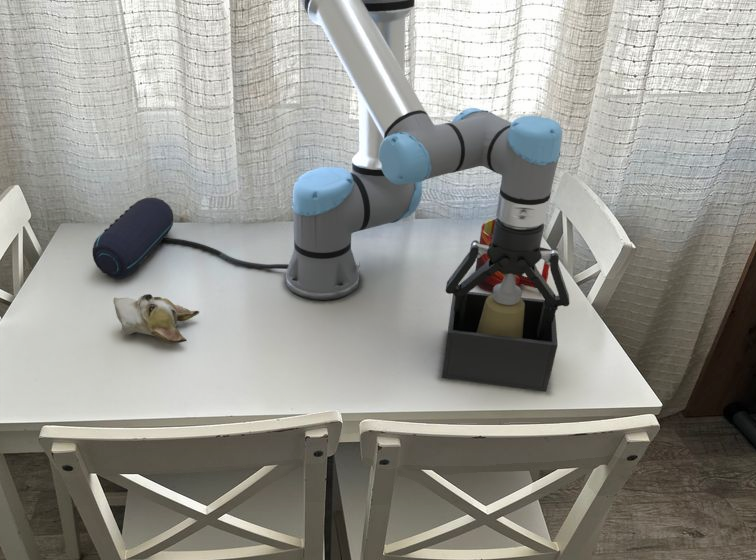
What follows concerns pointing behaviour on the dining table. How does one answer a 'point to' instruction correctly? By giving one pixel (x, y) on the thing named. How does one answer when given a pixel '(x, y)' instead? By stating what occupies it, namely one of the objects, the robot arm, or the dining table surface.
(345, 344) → the dining table surface
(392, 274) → the dining table surface
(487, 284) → the mug
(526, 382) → the bin
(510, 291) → the squeeze bottle
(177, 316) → the ceramic sculpture
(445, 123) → the robot arm
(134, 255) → the portable speaker
